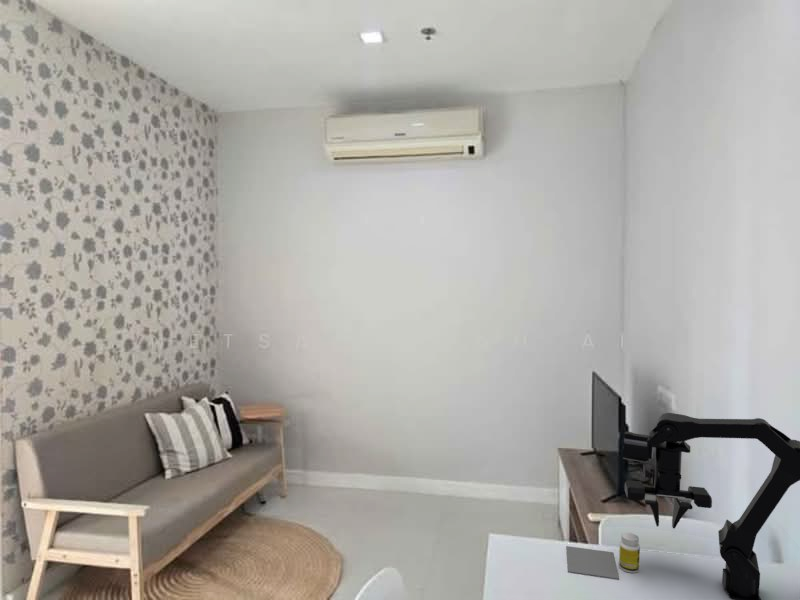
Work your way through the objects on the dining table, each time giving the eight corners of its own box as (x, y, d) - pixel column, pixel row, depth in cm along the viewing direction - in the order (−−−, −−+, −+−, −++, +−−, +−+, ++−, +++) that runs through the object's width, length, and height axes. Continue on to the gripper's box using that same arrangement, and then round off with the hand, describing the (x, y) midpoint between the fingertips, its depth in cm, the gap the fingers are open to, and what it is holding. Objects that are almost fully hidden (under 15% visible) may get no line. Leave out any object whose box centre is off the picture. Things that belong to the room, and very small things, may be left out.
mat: (613, 553, 143) (613, 552, 143) (619, 579, 132) (619, 578, 131) (566, 547, 146) (566, 545, 146) (567, 572, 135) (568, 571, 135)
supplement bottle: (641, 574, 134) (642, 542, 133) (620, 572, 135) (622, 540, 134) (636, 563, 138) (637, 532, 138) (617, 561, 139) (618, 530, 139)
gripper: (700, 457, 137) (698, 516, 139) (622, 450, 142) (620, 507, 144) (714, 474, 127) (710, 538, 128) (628, 466, 131) (626, 527, 133)
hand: (665, 526), depth 133 cm, fingers open, 3 cm apart
